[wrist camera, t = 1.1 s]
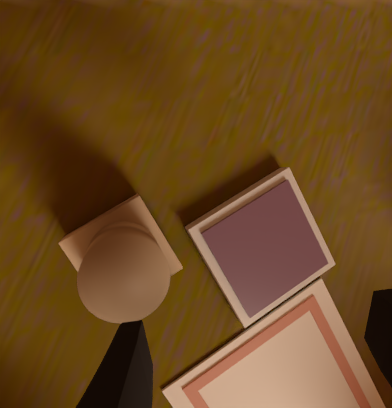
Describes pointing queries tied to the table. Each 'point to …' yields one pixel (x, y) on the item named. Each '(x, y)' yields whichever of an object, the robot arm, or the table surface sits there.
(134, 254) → the stamp
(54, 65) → the table surface
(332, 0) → the table surface
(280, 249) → the ink pad
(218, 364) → the marked sheet
